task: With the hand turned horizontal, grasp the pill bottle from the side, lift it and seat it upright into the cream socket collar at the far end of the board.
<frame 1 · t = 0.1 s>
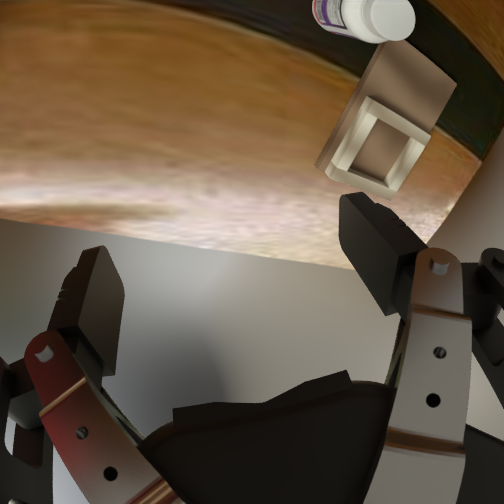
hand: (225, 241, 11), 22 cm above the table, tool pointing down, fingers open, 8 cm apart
socket board: (389, 118, 32), on the table
pill bottle: (335, 8, 23), on the table
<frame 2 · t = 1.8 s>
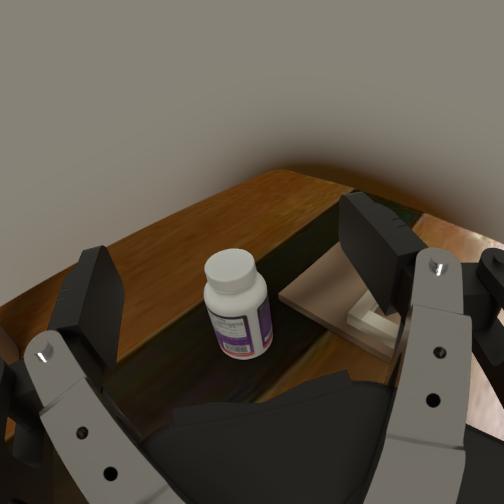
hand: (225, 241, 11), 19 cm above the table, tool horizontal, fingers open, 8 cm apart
socket board: (378, 303, 32), on the table
pill bottle: (246, 340, 31), on the table
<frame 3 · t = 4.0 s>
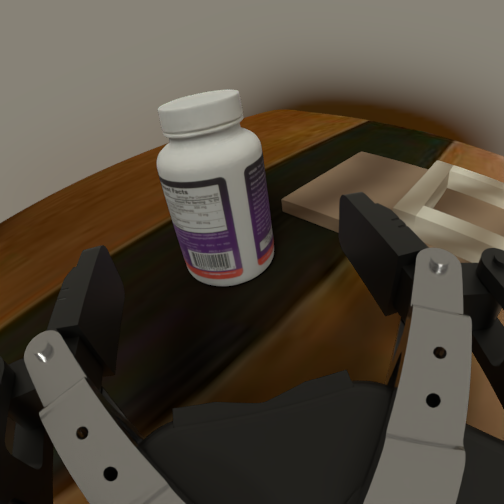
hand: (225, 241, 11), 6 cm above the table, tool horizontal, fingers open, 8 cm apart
socket board: (427, 214, 21), on the table
pill bottle: (230, 261, 20), on the table
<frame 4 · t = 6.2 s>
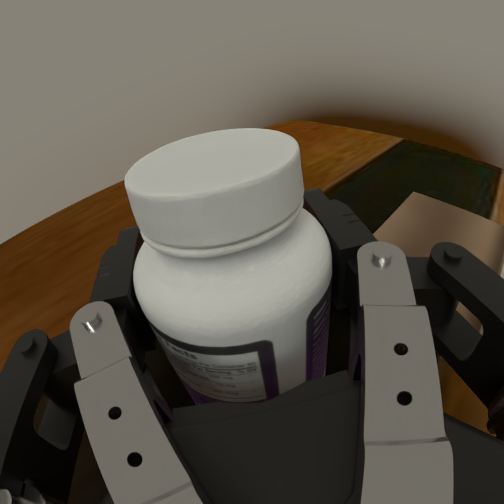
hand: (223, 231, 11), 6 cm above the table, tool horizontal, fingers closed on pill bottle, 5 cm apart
pill bottle: (258, 386, 13), on the table, touching gripper
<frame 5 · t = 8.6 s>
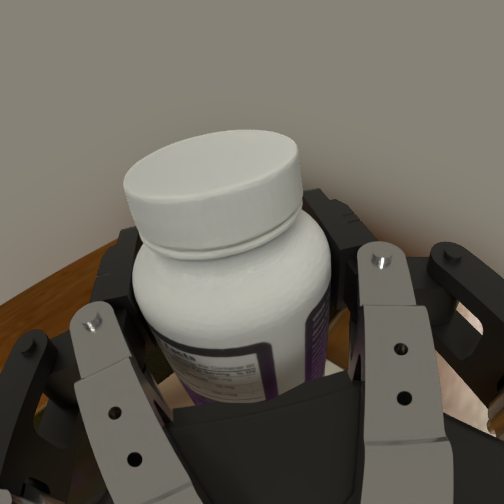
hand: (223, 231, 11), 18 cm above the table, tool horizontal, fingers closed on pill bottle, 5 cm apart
socket board: (281, 414, 23), on the table
pill bottle: (258, 387, 13), point 12 cm above the table, touching gripper
when the fingers open (9 cm above the table, at t = 11.1 s): pill bottle drops 1 cm, resting on socket board.
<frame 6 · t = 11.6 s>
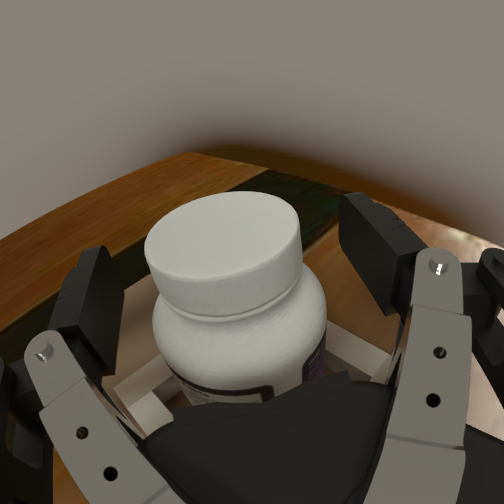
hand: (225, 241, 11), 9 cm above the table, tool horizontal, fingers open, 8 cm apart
socket board: (212, 368, 17), on the table
pill bottle: (262, 408, 14), point 1 cm above the table, touching socket board
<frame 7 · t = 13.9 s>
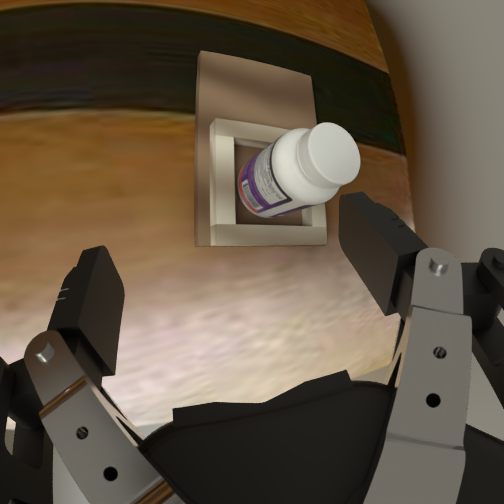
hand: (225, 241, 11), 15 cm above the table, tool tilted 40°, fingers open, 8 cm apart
socket board: (259, 146, 28), on the table
pill bottle: (263, 188, 27), point 1 cm above the table, touching socket board
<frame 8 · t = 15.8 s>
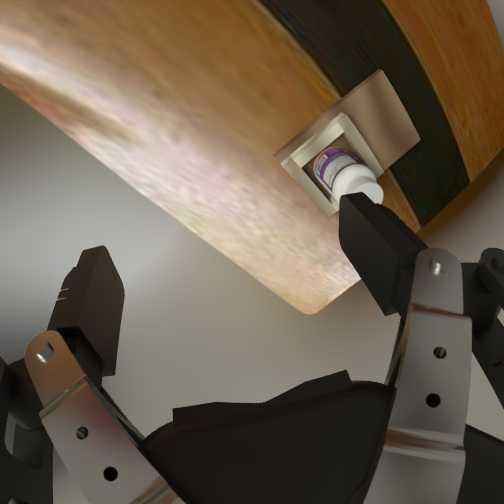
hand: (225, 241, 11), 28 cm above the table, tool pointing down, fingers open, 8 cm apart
socket board: (352, 143, 39), on the table
pill bottle: (331, 164, 39), point 1 cm above the table, touching socket board
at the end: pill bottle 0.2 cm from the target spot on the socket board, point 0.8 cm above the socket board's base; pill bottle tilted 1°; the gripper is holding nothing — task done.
